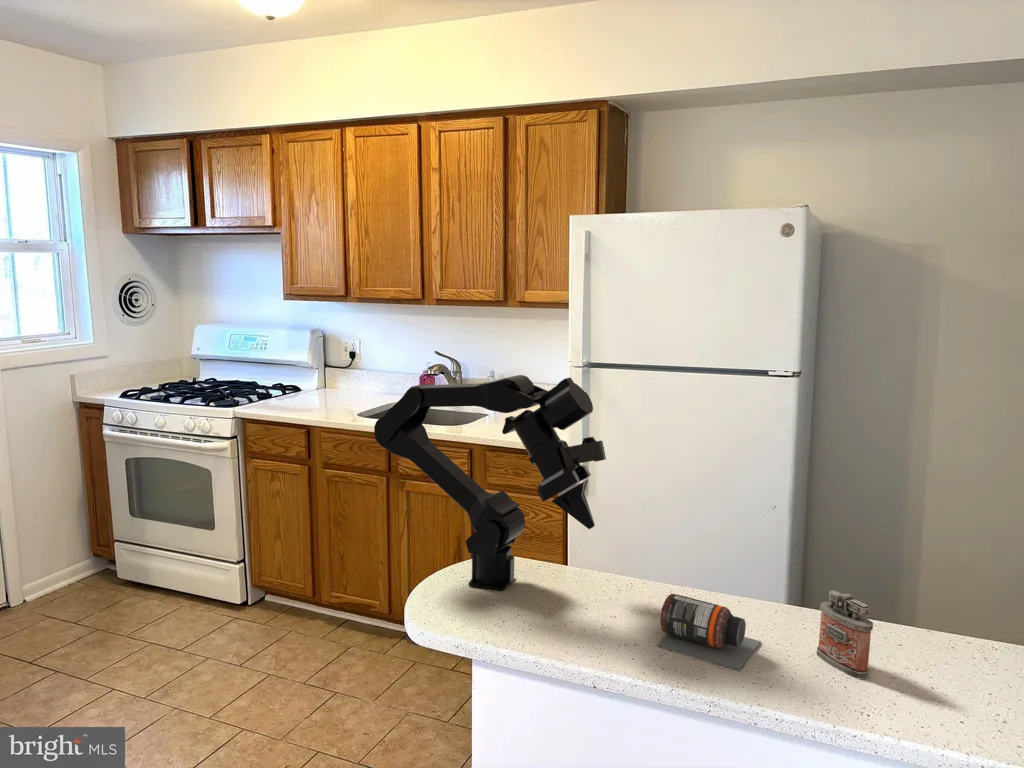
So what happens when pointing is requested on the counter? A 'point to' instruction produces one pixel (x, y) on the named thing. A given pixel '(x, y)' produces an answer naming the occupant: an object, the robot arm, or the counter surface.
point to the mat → (713, 651)
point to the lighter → (845, 634)
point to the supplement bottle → (701, 622)
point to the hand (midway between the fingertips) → (592, 527)
